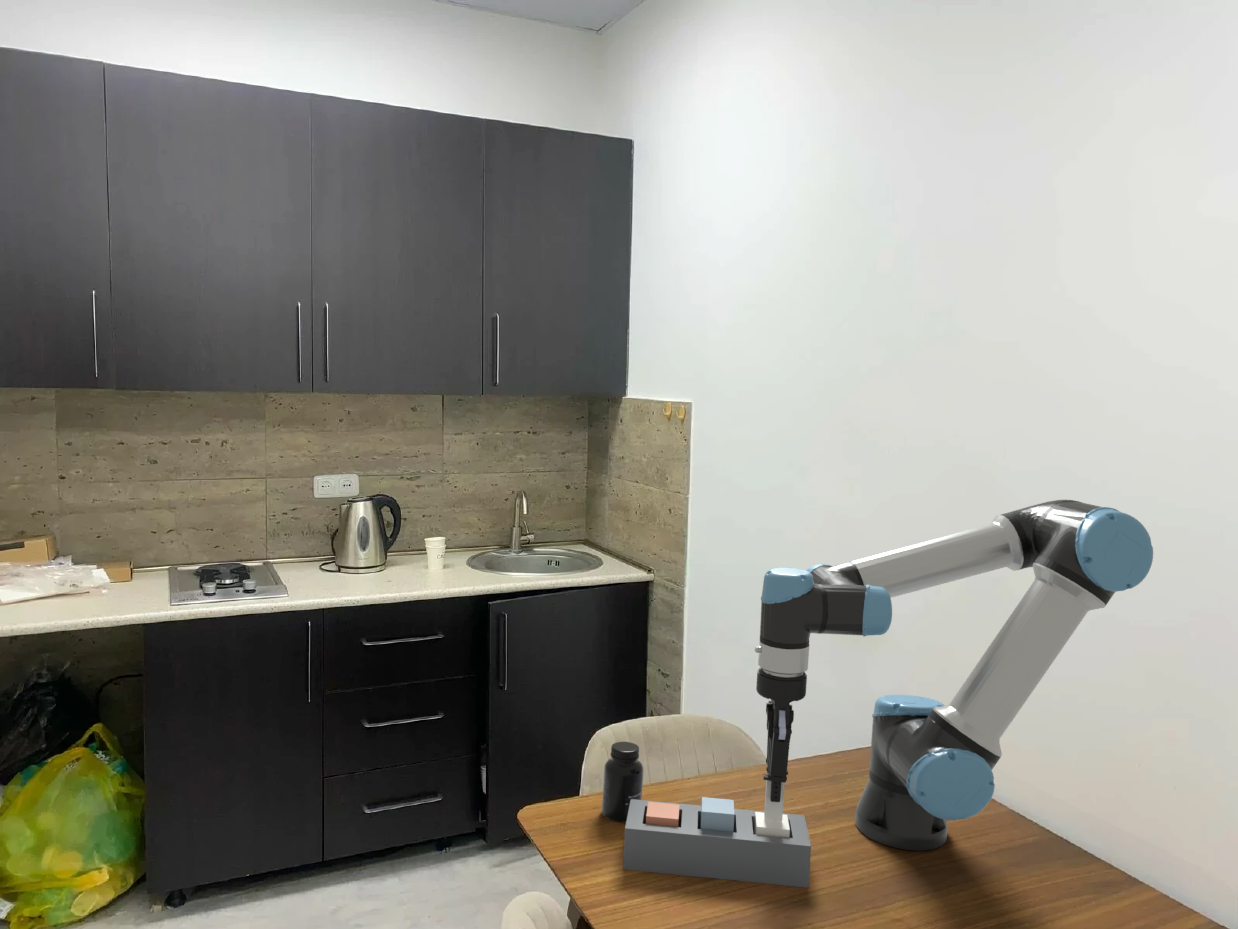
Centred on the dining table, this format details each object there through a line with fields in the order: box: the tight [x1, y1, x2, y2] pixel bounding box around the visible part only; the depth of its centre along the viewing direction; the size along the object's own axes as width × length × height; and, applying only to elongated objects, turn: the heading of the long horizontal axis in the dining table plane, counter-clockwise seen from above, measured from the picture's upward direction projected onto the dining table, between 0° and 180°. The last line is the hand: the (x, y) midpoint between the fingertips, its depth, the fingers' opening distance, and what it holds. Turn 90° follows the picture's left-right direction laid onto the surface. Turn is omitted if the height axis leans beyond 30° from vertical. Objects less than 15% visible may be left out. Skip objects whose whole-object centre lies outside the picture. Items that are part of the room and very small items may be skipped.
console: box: [622, 799, 812, 889], centre depth 141 cm, size 28×10×6 cm, turn 84°
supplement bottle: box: [601, 741, 644, 823], centre depth 155 cm, size 7×7×12 cm
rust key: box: [646, 801, 679, 827], centre depth 142 cm, size 5×5×5 cm
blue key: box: [700, 796, 735, 832], centre depth 141 cm, size 5×5×5 cm
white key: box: [754, 812, 790, 838], centre depth 140 cm, size 5×5×5 cm
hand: (773, 817), depth 140 cm, fingers closed
